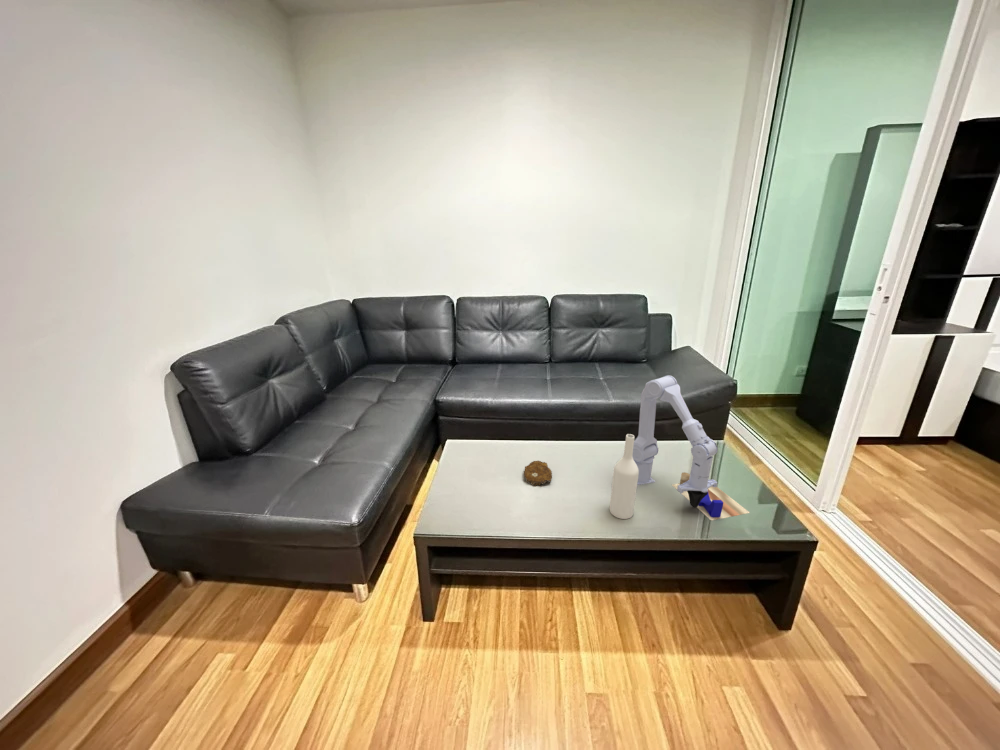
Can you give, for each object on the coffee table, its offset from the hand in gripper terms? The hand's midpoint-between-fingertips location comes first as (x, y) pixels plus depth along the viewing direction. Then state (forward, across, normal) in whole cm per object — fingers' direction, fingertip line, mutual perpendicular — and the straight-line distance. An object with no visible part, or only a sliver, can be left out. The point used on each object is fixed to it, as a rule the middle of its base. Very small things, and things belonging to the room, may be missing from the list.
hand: (693, 505), depth 139 cm
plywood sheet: (+1, +10, +4) cm, 10 cm away
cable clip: (+1, +5, 0) cm, 5 cm away
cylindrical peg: (+1, +5, +11) cm, 12 cm away
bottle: (+2, -25, +5) cm, 26 cm away
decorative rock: (+2, -47, +33) cm, 57 cm away
